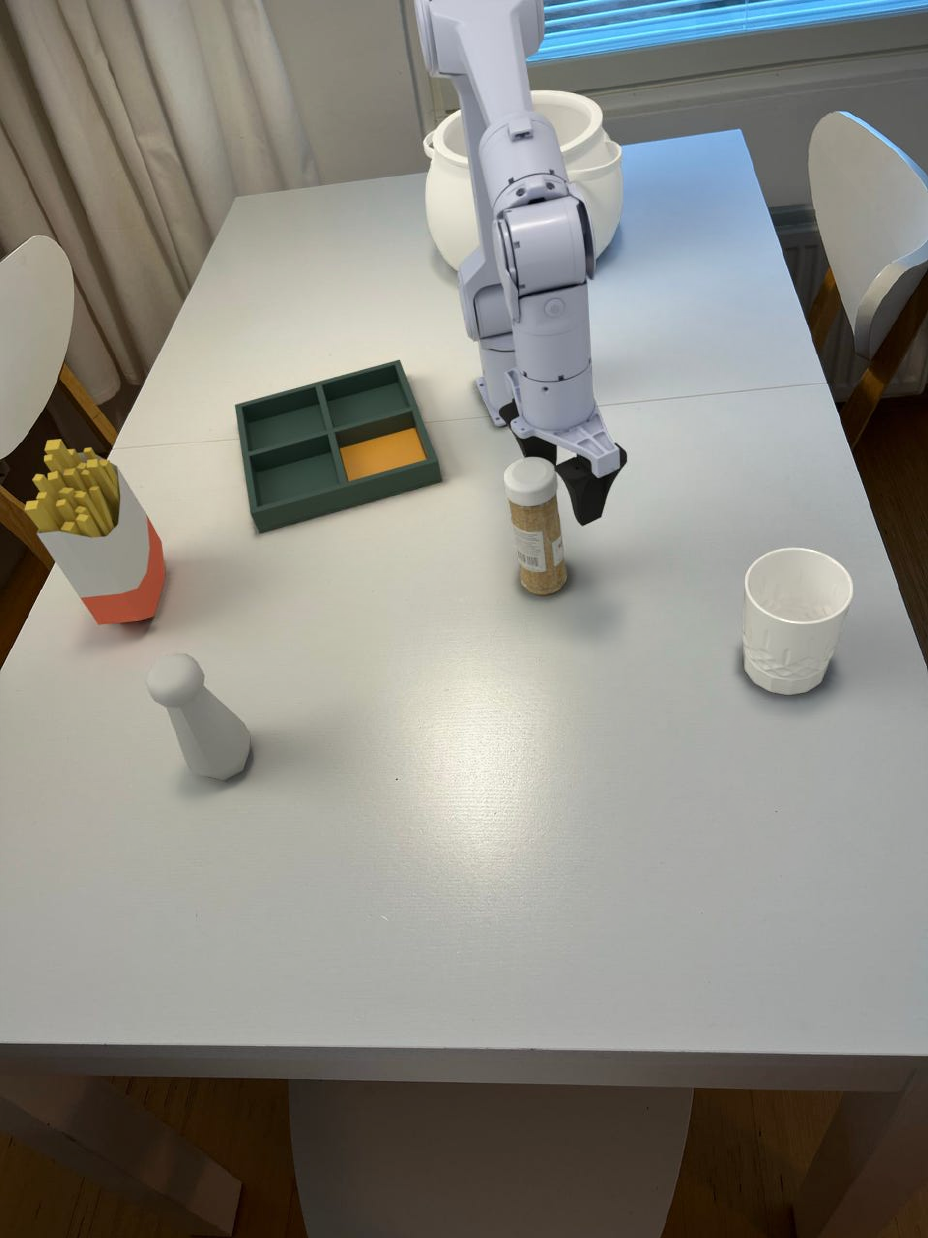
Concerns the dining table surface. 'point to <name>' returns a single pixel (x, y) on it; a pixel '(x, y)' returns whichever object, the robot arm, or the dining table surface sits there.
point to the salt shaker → (199, 718)
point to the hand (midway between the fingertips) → (566, 495)
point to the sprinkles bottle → (536, 524)
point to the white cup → (793, 618)
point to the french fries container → (98, 535)
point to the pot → (584, 159)
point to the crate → (333, 446)
